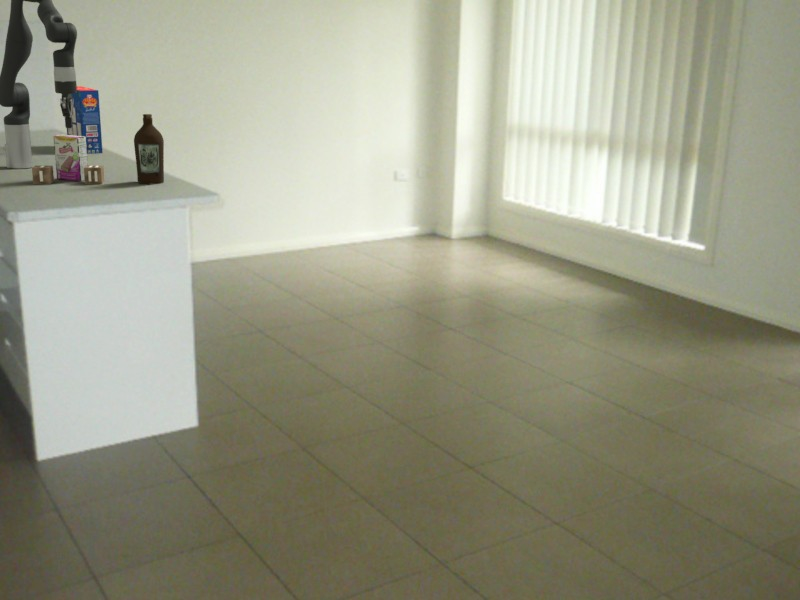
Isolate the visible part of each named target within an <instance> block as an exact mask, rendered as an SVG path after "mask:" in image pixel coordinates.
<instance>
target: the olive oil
mask: <svg viewBox="0 0 800 600" xmlns="http://www.w3.org/2000/svg"><path fill="white" fill-rule="evenodd" d="M142 116H143V117H142V126H141V127H140V128H139V129H138V130H137V131H136V133H135V135H134V137H133V144H134V145H133V146H134V147H133V148H134V153H135V154H134V156H135V163H136V164H135V165H136V176H137V183H138V184H141V185H158V184H164V181H165V170H164V166H165V165H164V163H165V162H164V160H165V159H164V157H165V156H164V155H165V154H164V146H165V142H164V138H163V135H162V133H161V132H160V131H159V130H158V129H157V128H156V126H154V124H153V117H152V116H153V114H151V113H145V114H142Z"/></svg>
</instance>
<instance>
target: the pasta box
mask: <svg viewBox="0 0 800 600" xmlns="http://www.w3.org/2000/svg"><path fill="white" fill-rule="evenodd" d="M71 96H72V98H73V101H74V107H73V115H72V117H71V118H72V128H66V135H74V136H85V137H86V146H87V155H90V154H91V155H94V154H103V152H104V151H103V141H102V140H103V139H102V138H103V137H102V125H101V111H100V108H101V107H100V95H99V90H98V89H94V88H90V87H85V86H77V93H72V94H71Z"/></svg>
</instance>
